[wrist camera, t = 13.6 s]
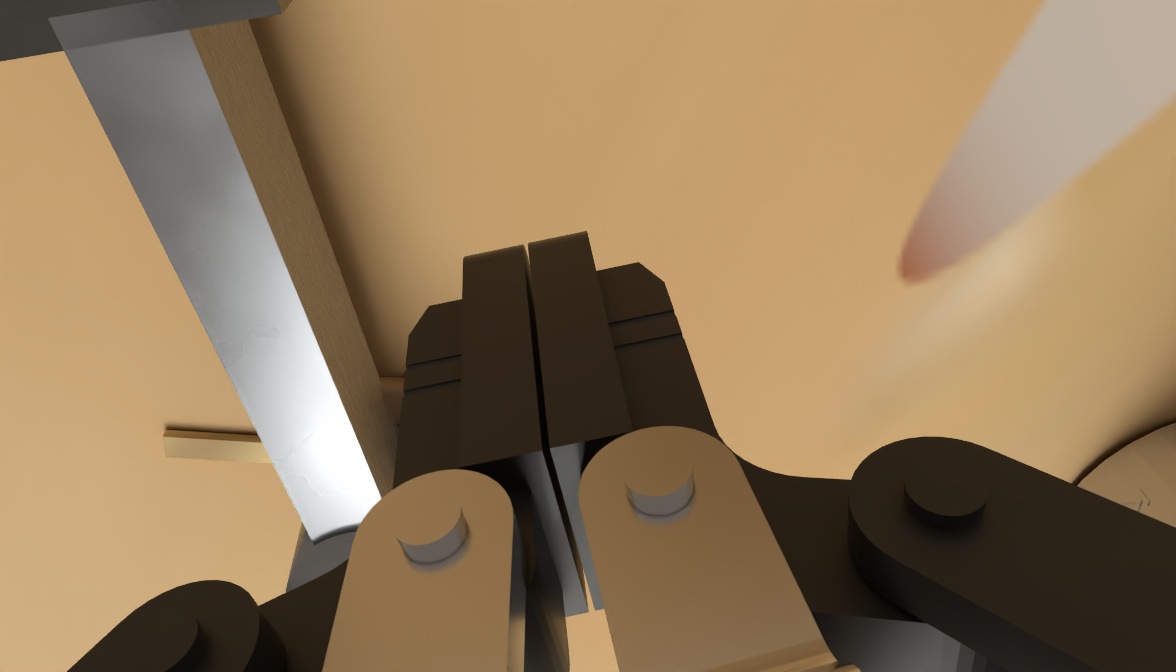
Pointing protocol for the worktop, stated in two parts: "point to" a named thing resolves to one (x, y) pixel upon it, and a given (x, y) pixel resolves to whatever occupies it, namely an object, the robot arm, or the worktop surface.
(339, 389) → the crank
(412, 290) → the worktop surface
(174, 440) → the crank base
